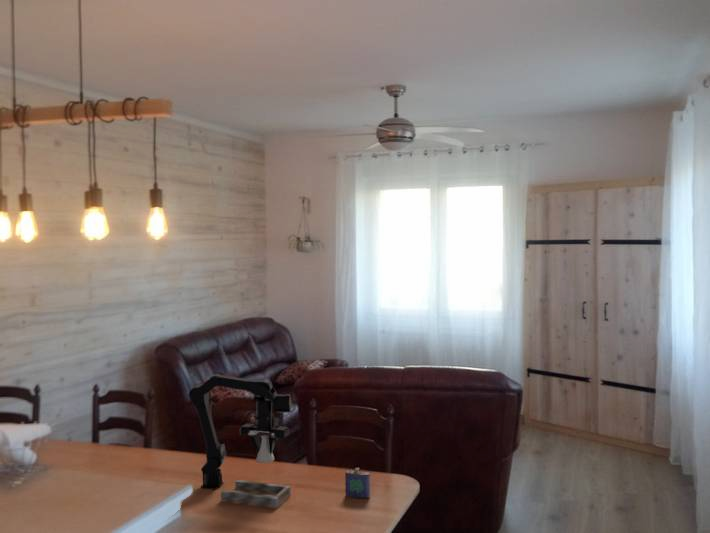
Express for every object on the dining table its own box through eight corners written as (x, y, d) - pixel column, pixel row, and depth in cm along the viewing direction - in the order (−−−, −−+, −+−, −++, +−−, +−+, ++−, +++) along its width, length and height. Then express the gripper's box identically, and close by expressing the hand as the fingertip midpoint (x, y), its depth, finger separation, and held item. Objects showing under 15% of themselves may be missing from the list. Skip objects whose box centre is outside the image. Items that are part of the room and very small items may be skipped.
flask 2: (370, 496, 232) (370, 467, 231) (368, 499, 229) (368, 470, 229) (346, 494, 235) (346, 465, 234) (344, 497, 232) (343, 468, 231)
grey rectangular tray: (221, 501, 229) (221, 492, 229) (237, 489, 241) (237, 479, 241) (276, 508, 222) (276, 499, 222) (290, 495, 234) (290, 486, 234)
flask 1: (271, 464, 239) (270, 438, 238) (253, 463, 240) (252, 437, 240) (277, 457, 246) (276, 432, 245) (259, 456, 247) (259, 431, 247)
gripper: (295, 408, 247) (296, 448, 248) (252, 405, 253) (253, 444, 253) (283, 416, 236) (284, 457, 237) (238, 412, 242) (239, 453, 243)
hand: (265, 452), depth 243 cm, fingers closed on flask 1, 5 cm apart
